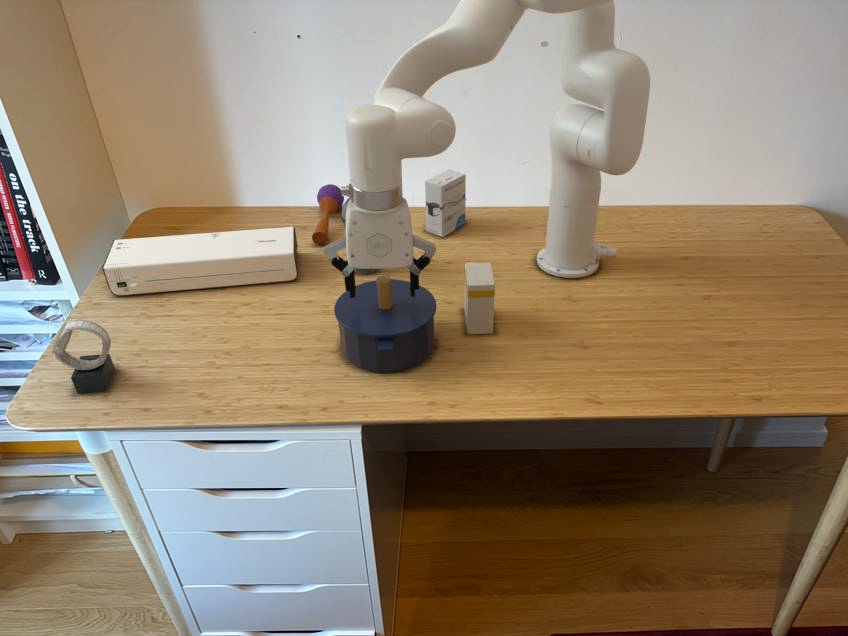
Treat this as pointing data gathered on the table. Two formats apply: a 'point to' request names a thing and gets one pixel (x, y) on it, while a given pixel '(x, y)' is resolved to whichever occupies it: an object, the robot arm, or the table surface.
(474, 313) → the packet
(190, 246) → the laminator
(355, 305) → the tin lid
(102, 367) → the watch
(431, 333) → the tin
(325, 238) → the kendama
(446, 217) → the ink box
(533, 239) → the table surface
